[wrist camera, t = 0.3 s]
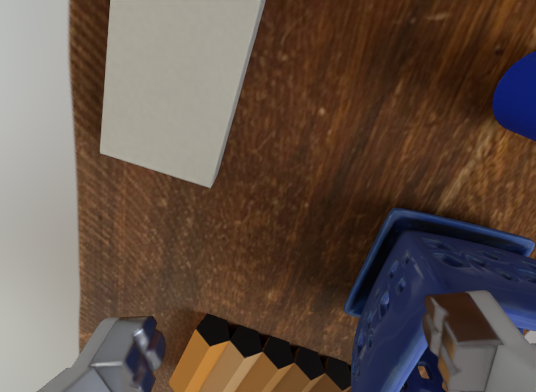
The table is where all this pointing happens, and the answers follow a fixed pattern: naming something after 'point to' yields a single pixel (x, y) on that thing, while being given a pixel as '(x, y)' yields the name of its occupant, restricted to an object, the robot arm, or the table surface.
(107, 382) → the robot arm
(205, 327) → the pan flute
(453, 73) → the table surface
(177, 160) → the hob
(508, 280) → the flower pot
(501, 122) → the beverage can
